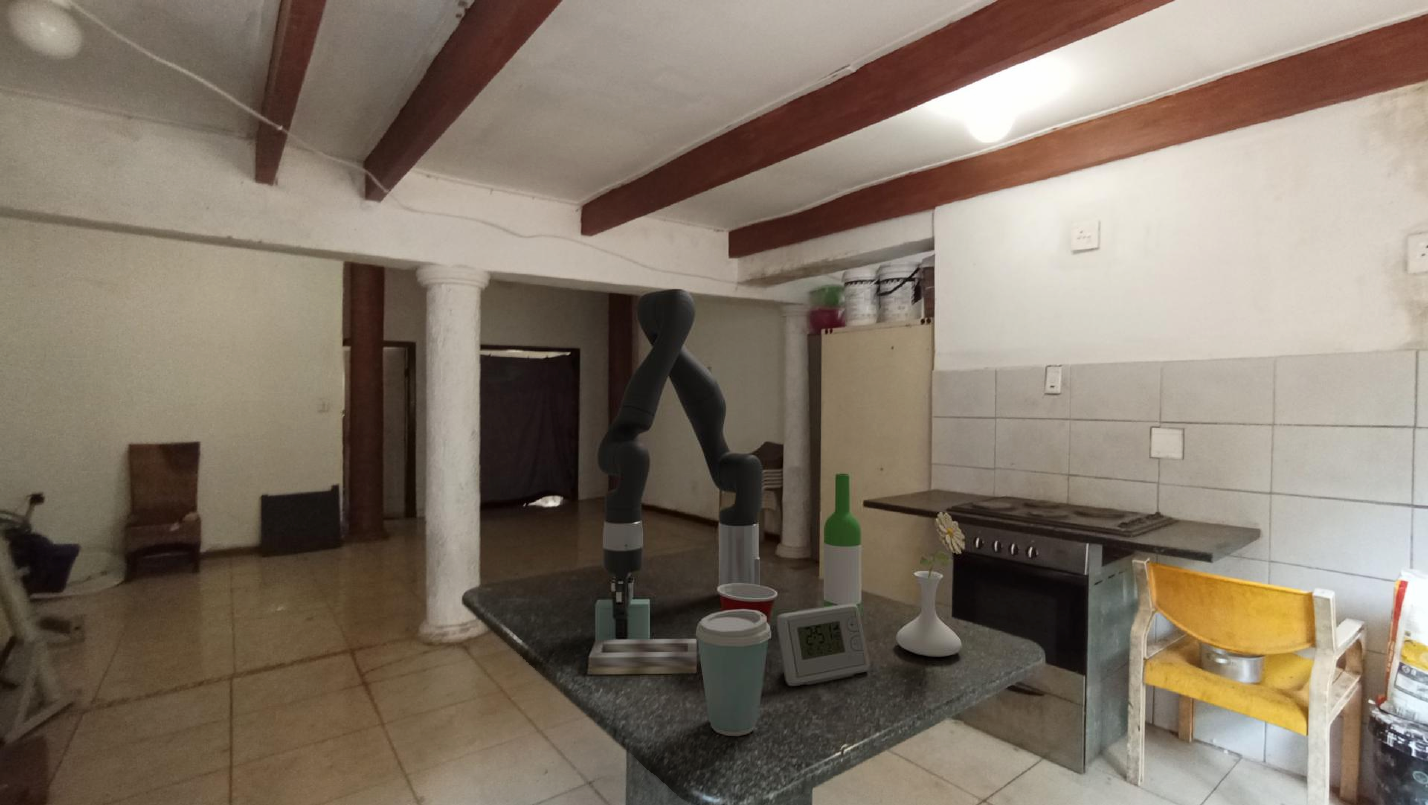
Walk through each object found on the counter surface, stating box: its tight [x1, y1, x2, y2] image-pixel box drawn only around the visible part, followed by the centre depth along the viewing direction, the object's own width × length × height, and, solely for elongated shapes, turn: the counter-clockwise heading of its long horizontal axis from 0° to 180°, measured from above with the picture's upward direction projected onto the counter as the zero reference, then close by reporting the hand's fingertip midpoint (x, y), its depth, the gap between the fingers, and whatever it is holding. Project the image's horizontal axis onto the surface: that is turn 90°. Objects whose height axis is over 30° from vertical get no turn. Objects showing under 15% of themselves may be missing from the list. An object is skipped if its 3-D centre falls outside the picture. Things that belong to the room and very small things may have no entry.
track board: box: [587, 638, 698, 675], centre depth 110 cm, size 18×10×2 cm, turn 92°
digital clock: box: [775, 604, 870, 687], centre depth 105 cm, size 16×9×11 cm, turn 102°
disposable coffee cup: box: [695, 609, 772, 737], centre depth 88 cm, size 11×11×15 cm
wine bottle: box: [823, 473, 862, 615], centre depth 134 cm, size 8×8×30 cm
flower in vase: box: [895, 511, 966, 658], centre depth 116 cm, size 13×11×25 cm
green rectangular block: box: [594, 598, 651, 642], centre depth 121 cm, size 10×3×7 cm, turn 92°
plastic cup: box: [716, 583, 778, 625], centre depth 112 cm, size 11×11×12 cm
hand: (622, 634), depth 121 cm, fingers closed on green rectangular block, 3 cm apart
